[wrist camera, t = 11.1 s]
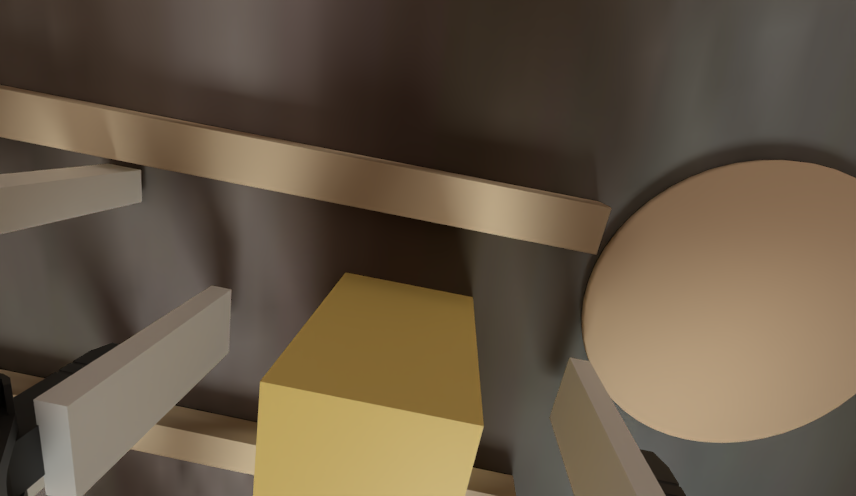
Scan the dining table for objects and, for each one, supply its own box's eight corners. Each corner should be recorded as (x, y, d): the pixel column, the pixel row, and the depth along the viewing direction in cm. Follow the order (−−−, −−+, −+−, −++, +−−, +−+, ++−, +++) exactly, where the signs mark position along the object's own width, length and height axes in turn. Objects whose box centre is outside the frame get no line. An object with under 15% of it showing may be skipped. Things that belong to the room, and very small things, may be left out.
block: (472, 297, 15) (483, 426, 9) (448, 403, 17) (441, 585, 10) (345, 272, 15) (260, 381, 9) (332, 380, 17) (250, 545, 10)
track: (599, 201, 14) (635, 219, 11) (504, 502, 18) (512, 573, 15) (-175, 50, 14) (-331, 31, 12) (-96, 377, 19) (-198, 423, 16)
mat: (971, 194, 13) (986, 196, 13) (814, 459, 16) (823, 467, 16) (636, 130, 13) (642, 130, 13) (547, 404, 16) (549, 411, 16)
